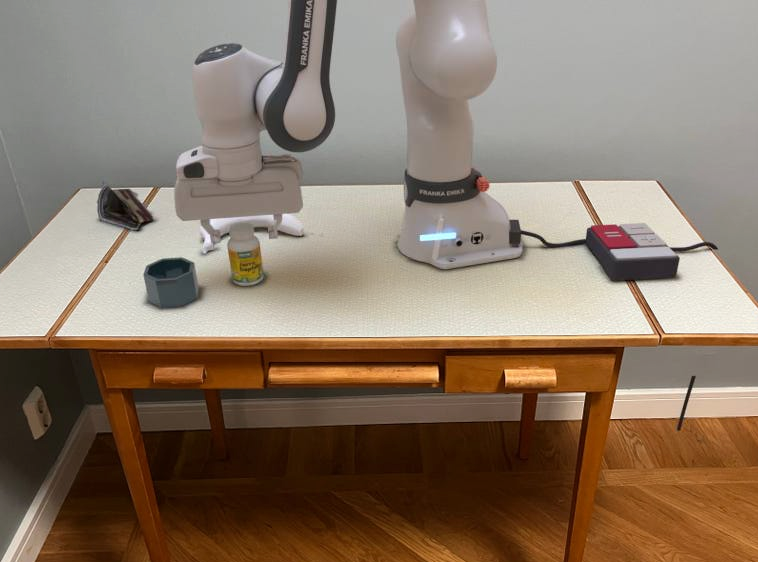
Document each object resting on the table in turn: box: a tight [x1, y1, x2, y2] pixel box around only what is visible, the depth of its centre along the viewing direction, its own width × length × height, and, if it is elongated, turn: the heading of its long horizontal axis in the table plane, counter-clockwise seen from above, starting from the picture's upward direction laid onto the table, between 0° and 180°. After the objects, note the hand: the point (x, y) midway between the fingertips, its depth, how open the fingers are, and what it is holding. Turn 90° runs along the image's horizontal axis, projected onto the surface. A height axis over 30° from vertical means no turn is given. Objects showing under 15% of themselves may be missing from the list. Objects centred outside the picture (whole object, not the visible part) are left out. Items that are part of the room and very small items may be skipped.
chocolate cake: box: [96, 181, 154, 231], centre depth 149 cm, size 10×7×12 cm
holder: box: [143, 256, 200, 309], centre depth 122 cm, size 8×8×5 cm
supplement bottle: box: [226, 223, 264, 287], centre depth 124 cm, size 5×5×10 cm
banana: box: [199, 213, 304, 254], centre depth 139 cm, size 5×19×15 cm
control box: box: [585, 222, 681, 281], centre depth 129 cm, size 11×4×15 cm
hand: (244, 239), depth 123 cm, fingers open, 8 cm apart
